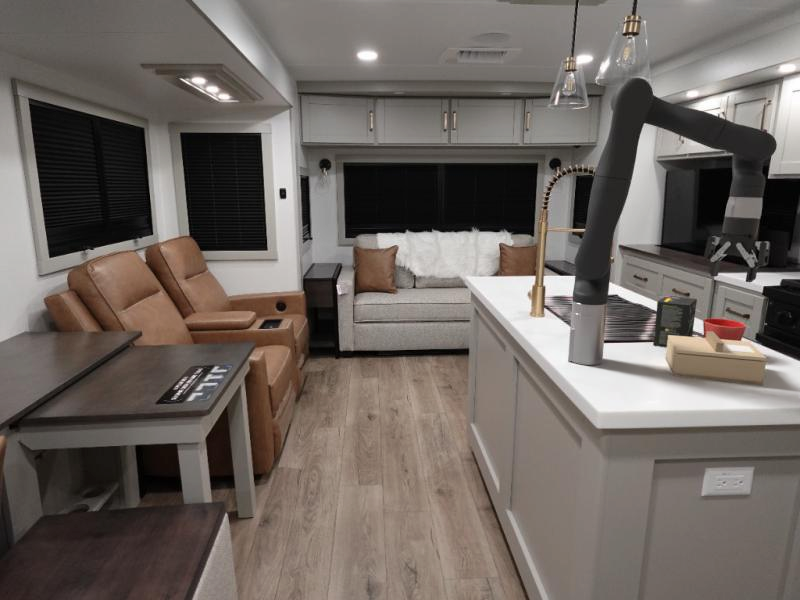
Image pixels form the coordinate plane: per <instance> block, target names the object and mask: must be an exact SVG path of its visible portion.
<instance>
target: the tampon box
mask: <svg viewBox="0 0 800 600" xmlns="http://www.w3.org/2000/svg"><path fill="white" fill-rule="evenodd" d="M697 301H698V300H697V298H690V297H683V296H676V295H675V296H674V295H673V296H672V295H665V296H664V297H662V298H660V299H658V301H657V303H656V313H655V314H656V315H655V325H654V326H655V327H654V335H653V337H654V338H653V344H652V345H653V346H656V347H661V348H667V341H668V335H674V336H687V337H693V332H694V326H695V325H694V324H695V319H696V318H695V316H696V311H697V309H696V308H697V303H698V302H697Z"/></svg>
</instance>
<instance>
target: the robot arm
mask: <svg viewBox="0 0 800 600" xmlns="http://www.w3.org/2000/svg"><path fill="white" fill-rule="evenodd" d="M610 106H611V111H612V115H611V122H610V129H609V133H608V137H607V140H606V142H605V145H604V148H603V150H602V152H601V155H600V157H599V160H598V163H597V166H596V169H595V172H594V176H593V181H592V185H591V190H590V196H589V200H588V201H589V202H588V206H587V207H588V208H587V217H586V222H585V223H586V224H585V227H584V228H585V229H584V232H583V234H582V239H581V241H580V245H579V247H578V250H577V252H576V254H575V257H574V261H573V265H574V269H575V274H574V284H573V290H572V304H571V305H572V306H571V318H570V330H569V341H568V342H569V343H568V344H569V345H568V355H567V356H568V357H567V362H571V361H572V363H575V364H579V365H586V366H595V365H600V364H602V362H603V359H604V358H603V357H604V346H605V335H606V334H605V332H606V324H607V323H606V322H607V311H608V310H607V308H608V299H609V291H610V279H611V267H612V256H611V252H612V246H613V241H614V235H615V232H616V231H615V230H616V227H617V225H618V223H619V220H620V218H621V215H622V213H623V212H624V208H625V205H626V202H627V198H628V196H629V192H630V188H631V184H632V180H633V177H634V176H633V175H634V170H635V166H636V159H637V154H638V147H639V141H640V137H641V135H642V131H643V128H644V125H645V124H647V125H650V126H652V127H656V128H661V129H662V130H666V131H669V132H671V133H674V134H675V135H678V136H681V137H682V138H685V139H688V140H690V141H691V142H695V143H697V144H700V145H703V146H705V147H707V148H708V147H709V148H711V149H713V150H718V151H725V152H729V153H731V154H732V161H731V164H732V166H731V167H732V169H731V171H732V180H731V185H730V190H729V197H728V200H727V203H726V208H725V212H724V213H725V214H724V219H723V224H722V231H721V237H718V236H717V235H714V236H713V235H710V236H708V237H707V241H706V246H705V250H704V255H703V258H704V259H707V260H709V261H710V265H709V274H710V276H711V277H714V278H715V277H718V275H719V270H720V265H721V262H720V261H721V260H722V259H724V257H726V256H735V257H742V258H743V259H744V260H745V261H746V263H747V264H748V267H747V271H746V275H745V276H746V277H745V282H746V283H753V281H755V280H756V278H757V274H758V269H759V267H764V266H768V264H769V257H770V249H771V242H770V241H768V240H767V241H766V240H765V241H757V236H758V231H759V226H760V221H761V216H762V210H763V197H764V192H765V186H766V176H765V175H764V174H763V167H764V161H766V160H768V159H769V158H771V157H772V156H774V154H775V152H776V150H777V145H778V143H777V140H776V138H775V137H774V136H773V135H772V134H771V133H770V132H768V131H765V130H762V129H760V128H754V127H752V126H747V125H744V124H738V123H735V122H733V121H730V120H728V119H726V118H723V117H720V116H718V115H715V114H712V113H710V112H706V111H703V110H699V109H696V108H691V107H685V106H682V105H678V104H674V103H672V102H669V101H666V100H663V99H661V98H660V97H659V96H658V97H657V95H654V91H653V88H652V85H651V84H650V83H649V82H648V81H647V80H646V79H644V78H641V77H633V78H630V79H627V80H626V81H624V82H622V83H621V84H620V85H618V87H617V88H616V89H615V91H614V92H613V94H612V97H611V99H610ZM719 244H720V246H721V247H720V248H719V249H718V250H717V251H716V247H717V245H719ZM755 248H757V250H758V251H759V252H758V256H756V253H755V252H754V249H755ZM715 251H716V252H715ZM757 257H758V258H757Z"/></svg>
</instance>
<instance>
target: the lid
mask: <svg viewBox="0 0 800 600" xmlns="http://www.w3.org/2000/svg"><path fill="white" fill-rule="evenodd" d="M668 339H669V341H670V343H671V344H672V346H673V348H674V350H675V352H676V353H684V354H695V355H706V356H717V357H728V358H738V359H749V360H760V361H765V362H767V360H768V359H767V356H765V354H763V353H762V352H761V351H760V350H759V349H758V348H757V347H755V345H753V344H752V343H751V342H750V341H746V340H741V341H735V340H723V339H719V337H718V336H717V335H716V334H715V333H714V332H712V331H707V333H706V338H704V337H698V336H692V337H687V336H674V335H668Z"/></svg>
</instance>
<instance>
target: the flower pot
mask: <svg viewBox="0 0 800 600" xmlns="http://www.w3.org/2000/svg"><path fill="white" fill-rule="evenodd" d="M702 324H703V327H702V328H703V338H706V333H707V331H712V332H714V333H715V334H716V335H717V336H718V337H719V339H723V340H735V341H742V339H743V336H744V334H745V331H746V328H747V325H746V324H745V323H743V322H741V321H738V320H737V321H736V320H732V319H725V318H715V317H714V318H705V319H703V321H702Z"/></svg>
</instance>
